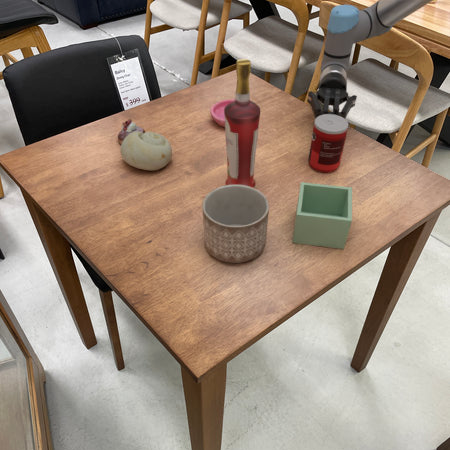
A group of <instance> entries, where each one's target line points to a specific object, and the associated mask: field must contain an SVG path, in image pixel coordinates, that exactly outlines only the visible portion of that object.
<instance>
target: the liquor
mask: <svg viewBox="0 0 450 450" xmlns="http://www.w3.org/2000/svg"><path fill="white" fill-rule="evenodd" d="M235 65H236V67H235V68H236V71H235V73H236V89H235V100H234V101H232V102H231V103H229V104H228V105H227V106H226V107H225V108H224V115H225V127H224V134H225V147H226V169H227V171H226V172H227V173H226V175H227V178H226V180H225V185H234V184H237V185H246V186H250V187H253V188H255V186H256V180H255V179H254V178H255V177H254V176H255V163H256V155H257V146H258V139H259V138H258V137H259V129H260V119H261V108H260V106H259V105H258V104H256V102H254V101H252V100H251V97H250V96H251V95H250V93H251V92H250V75H251V68H252V67H251V66H252V62H251V60H250V59H248V58H247V59H246V58H240V59H237V60H236V63H235Z"/></svg>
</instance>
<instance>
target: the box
mask: <svg viewBox="0 0 450 450" xmlns="http://www.w3.org/2000/svg"><path fill="white" fill-rule="evenodd" d="M352 222H353V187H350V186H341V185H333V184H331V185H330V184H323V183H315V182H313V183H312V182H304V181H300V184H299V191H298V196H297V204H296V209H295V218H294V225H293V233H292V241H291V243H292V244H298V245H307V246H314V247H322V248H331V249H339V250H344V249H345V246H346V243H347V239H348V236H349V232H350V229H351V227H352V226H351V225H352Z"/></svg>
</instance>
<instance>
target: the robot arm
mask: <svg viewBox="0 0 450 450" xmlns="http://www.w3.org/2000/svg"><path fill="white" fill-rule="evenodd" d="M433 1H434V0H377V1H375V2H374V3H373V4H372V5H370V6H368V7H365V8H362V9H359V8H358V7H356V6H354V5H352V4H339V5H336V6H334V7H332V9H331V11H330V14H329V19H328V23H327V27H326V29H327V31H326V37H325V43H324V50H323V54H322V60H321V64H320V76H319V80H318V81H319V82H318V89H317V90H316V92H314V91H312V90H310V91H307V92H308V94H307V100H306V102H307V103H308V104H309V105H310V108H311V111H312V113H313V116H314V119H316V118H317V117H318V116H320V115H324V114H333V115H338V116H341V117H343V118H344V119H346V118H347V116H348V114H349V113H350V111H351V109H352V108H354V107H356V102H357V95H356V94H353V95H349V92H347V91H348V90H347V89H348V71H349V64H350V61H351V60H350V59H351V56H352V50H353V47H354V46H353V45H355V44H358V43H360V42H364V41H366V40H370V39H371V38H375V37H379V36H383V34H384V35H385V34H386V33H388V32H390V30H391V29H392V28H393V27H394V25H396V24H397V23H399V22H401V21H402V20H404V19H405V18H407V17H409V16H410V15H412V14H413V13H415V12H417V11H419V10H420V9H421V8H423V7H425V6H426V5H428V4H429V3H431V2H433ZM320 103H321V104H322V107H321V104H320ZM342 104H344V105H343V107H342V109H341V111H340V106H341V105H342ZM329 106H332V111H329Z"/></svg>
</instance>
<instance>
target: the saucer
mask: <svg viewBox="0 0 450 450" xmlns="http://www.w3.org/2000/svg"><path fill="white" fill-rule="evenodd" d="M234 100H235V99H233V98H231V99H222V100H220V101H217V102H216V103H214V104H213V105H212V106H211V107H210V111H209V112H210V116H211V118H212V119H213V121H214V122H215V123H216V124H217V125H219V127H221V128H225V115H224V108H225V107H226V106H227V105H228V104H229V103H231V102H232V101H234Z"/></svg>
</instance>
